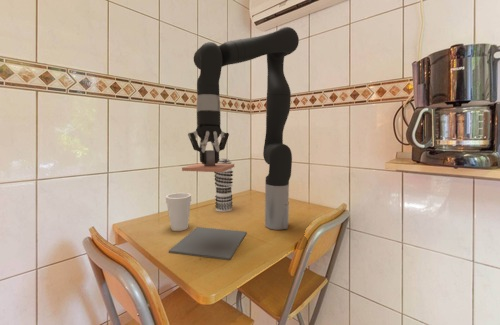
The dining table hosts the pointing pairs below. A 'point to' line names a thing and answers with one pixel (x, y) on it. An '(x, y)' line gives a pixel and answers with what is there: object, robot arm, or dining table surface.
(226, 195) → the decorative candle
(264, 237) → the dining table surface
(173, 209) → the foam cup
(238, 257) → the dining table surface
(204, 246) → the mat
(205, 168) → the lid
